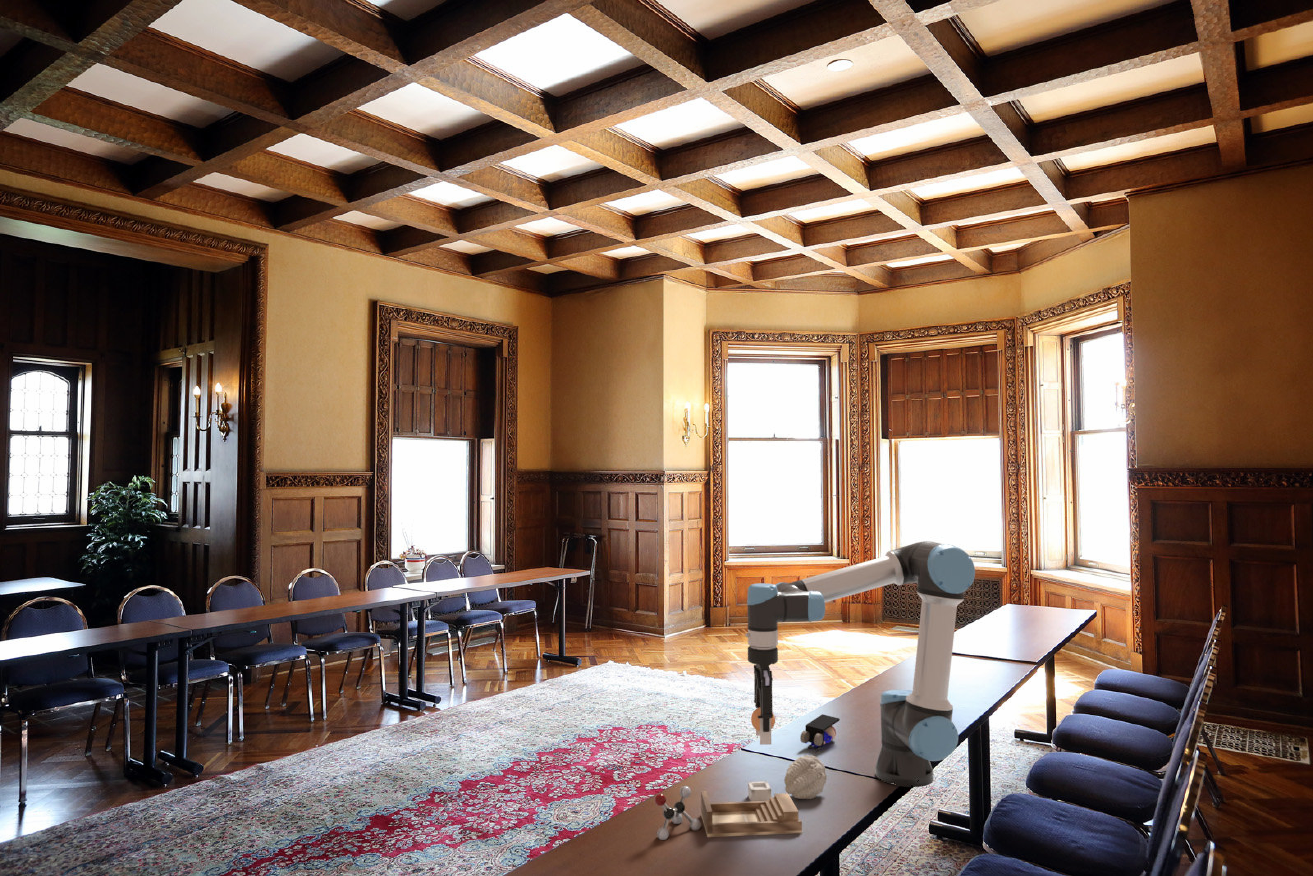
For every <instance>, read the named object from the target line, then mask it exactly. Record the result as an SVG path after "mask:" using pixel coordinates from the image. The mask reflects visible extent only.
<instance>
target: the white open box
mask: <svg viewBox="0 0 1313 876" xmlns="http://www.w3.org/2000/svg"><path fill="white" fill-rule="evenodd" d="M747 797H748V799H749V802H751V801H770V797H772V789H771V786H770V785H769V782H768V781H748V782H747Z"/></svg>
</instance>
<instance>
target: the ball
mask: <svg viewBox="0 0 1313 876" xmlns="http://www.w3.org/2000/svg"><path fill="white" fill-rule="evenodd" d="M760 715H761V710H760V707H759V708H755V709H754V710H753V712H752V713H751V716H750V722H751V724H752V727H753V729H755V731H756V730H757V731H759V732H760V718H758V716H760ZM775 723H776V717H775V714H774V713H773V718H771V730H772V729H773V728H774V726H775Z"/></svg>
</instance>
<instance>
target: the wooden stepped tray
mask: <svg viewBox="0 0 1313 876" xmlns="http://www.w3.org/2000/svg"><path fill="white" fill-rule="evenodd" d="M700 815H701V819H702V823H703V826H704V830H705V833H706V837H707V838H718V837H721V838H722V837H737V836H738V837H739V836H741V837H742V836H759V835H760V836H761V835H763V836H765V835H783V834H784V835H785V834H786V835H787V834H803V822H802V820H801V819H799V810H798V808H797V806H796V805H795V803H794V801H793V800H792V798H791V796H790V794H788V793H787V792H785V793H782V792H781V793H774V796H771V797H770V801H728V802H725V801H724V802H710V799H709V797H708V792H707V790H700Z"/></svg>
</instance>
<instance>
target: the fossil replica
mask: <svg viewBox="0 0 1313 876" xmlns="http://www.w3.org/2000/svg"><path fill="white" fill-rule="evenodd" d="M827 777H828V776H827V773H826V767H825V765H824V763H823V762H822V761H821V760H820V759H819V758H818V757H817V756H815V755H807V754H804V755H802V756H799V757H798V758H796V759H795V760H794V761H793V762H791V764H790V765H789V767H788V768H787V769H786V774H785V776H784V780H783V781H784V784H785V787H784V791H785V793H788V794H789V795H790V794H791V796H793V797H794V798H795V799H804V800H809V799H810V800H812V799H814V798H816V797H817V796H818V795H820V794H821V793H822V792H823V791H824V787H825V785H826V783H827V781H828V778H827Z"/></svg>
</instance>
